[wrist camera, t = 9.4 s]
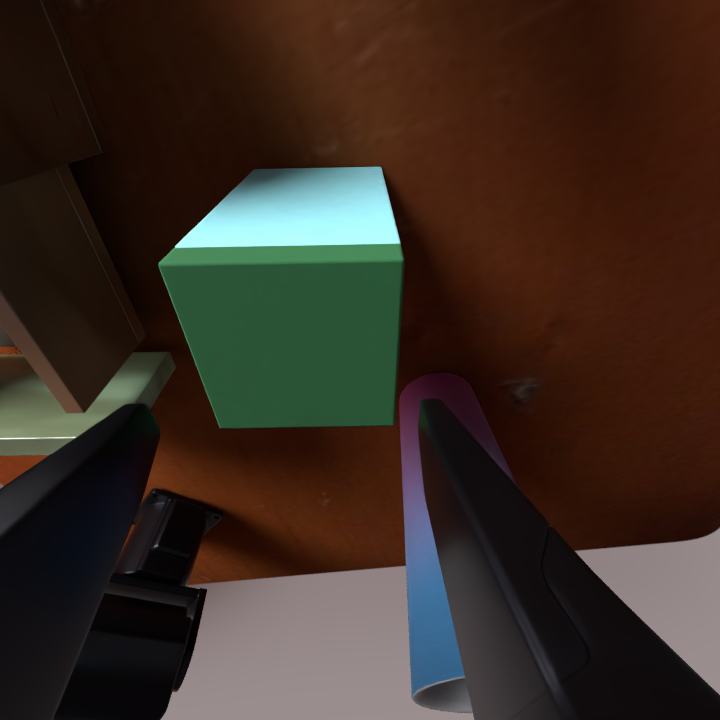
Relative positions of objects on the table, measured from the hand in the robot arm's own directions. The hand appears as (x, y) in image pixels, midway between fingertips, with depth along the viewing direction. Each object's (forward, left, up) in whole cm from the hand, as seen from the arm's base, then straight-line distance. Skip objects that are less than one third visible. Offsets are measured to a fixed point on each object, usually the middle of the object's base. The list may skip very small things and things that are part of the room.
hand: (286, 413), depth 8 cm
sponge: (0, 0, -12) cm, 12 cm away
